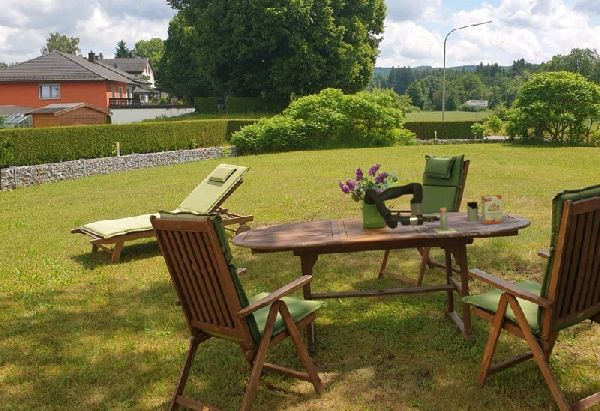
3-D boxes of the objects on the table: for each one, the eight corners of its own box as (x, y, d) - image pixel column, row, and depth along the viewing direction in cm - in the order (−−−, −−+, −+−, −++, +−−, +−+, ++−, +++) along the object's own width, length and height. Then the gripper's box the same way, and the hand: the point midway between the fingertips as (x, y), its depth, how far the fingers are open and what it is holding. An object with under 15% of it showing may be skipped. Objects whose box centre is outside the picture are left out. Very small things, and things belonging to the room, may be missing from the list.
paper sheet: (432, 230, 432) (432, 228, 432) (450, 229, 432) (450, 227, 432) (438, 233, 416) (437, 232, 416) (456, 232, 416) (456, 230, 416)
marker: (440, 229, 426) (439, 207, 425) (446, 229, 426) (445, 207, 425) (441, 230, 422) (440, 208, 420) (448, 230, 422) (447, 207, 420)
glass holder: (465, 221, 463) (464, 202, 462) (481, 219, 467) (480, 200, 465) (471, 222, 455) (470, 203, 453) (487, 220, 458) (486, 201, 457)
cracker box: (485, 224, 440) (484, 196, 438) (481, 223, 446) (480, 196, 444) (503, 222, 442) (501, 195, 440) (498, 222, 448) (497, 194, 446)
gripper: (413, 223, 431) (436, 222, 431) (418, 226, 416) (441, 224, 417) (413, 213, 430) (435, 211, 430) (417, 216, 416) (440, 214, 416)
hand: (438, 218), depth 423 cm, fingers open, 8 cm apart
